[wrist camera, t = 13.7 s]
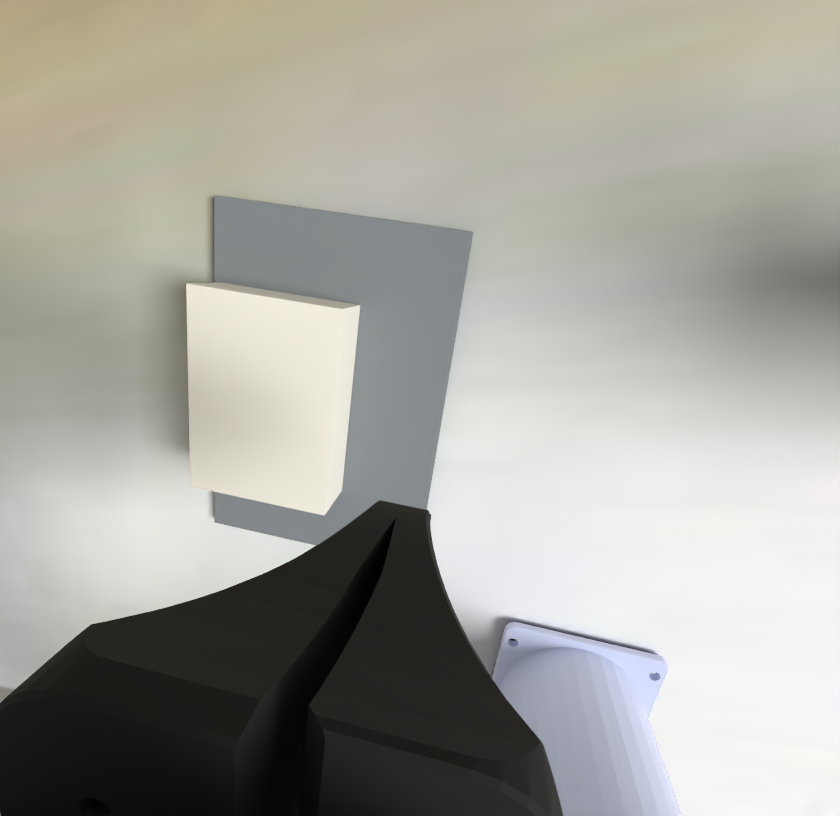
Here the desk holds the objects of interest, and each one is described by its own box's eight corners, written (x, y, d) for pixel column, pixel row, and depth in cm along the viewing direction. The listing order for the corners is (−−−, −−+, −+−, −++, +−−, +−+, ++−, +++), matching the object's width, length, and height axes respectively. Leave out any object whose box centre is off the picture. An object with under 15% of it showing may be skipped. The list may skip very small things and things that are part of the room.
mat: (417, 563, 23) (416, 567, 22) (219, 518, 24) (214, 522, 24) (472, 232, 18) (472, 231, 18) (219, 197, 19) (214, 195, 19)
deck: (324, 515, 20) (190, 486, 20) (342, 489, 22) (221, 464, 23) (342, 308, 17) (186, 283, 17) (360, 304, 19) (222, 282, 20)
